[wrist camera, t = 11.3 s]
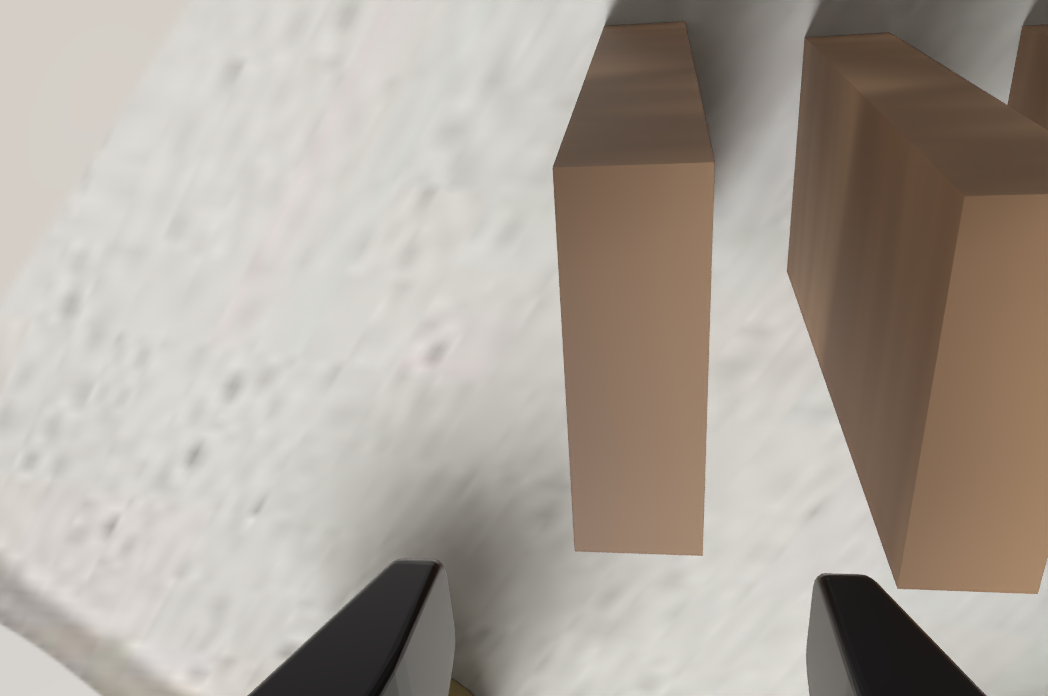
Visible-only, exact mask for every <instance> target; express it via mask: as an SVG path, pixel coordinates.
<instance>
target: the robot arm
mask: <svg viewBox="0 0 1048 696" xmlns="http://www.w3.org/2000/svg"><path fill="white" fill-rule="evenodd" d="M454 654H455V626H454V619H453V613H452V606H451V599H450V592H449V586H448V579H447V573H446V570H445V567H444V565H443V564H442V563H441V562H440V561H438V560H435V559H407V558H403V559H398V560H396V561H394V562H392V563H391V564H390V565H388V566H387V567H386V568H385V569H384V570H383V571H382V572H381V573H380V574H379V575H378V576H377V577H376V578H374V579H373V580H372V581H371V582H370V583H369V584H368V585H367V586H366V587H365V588H364V589H363V590H361V591H360V592H359V593H358V594H357V595H356V596H355V597H354V598H353V599H352V600H351V601H350V602H348V603H347V604H346V605H345V606H344V607H343V608H342V609H341V610H340V611H339V612H338V613H337V614H335V615H334V616H333V617H332V618H331V619H330V620H329V621H328V622H327V623H326V624H325V625H324V626H322V627H321V628H320V629H319V630H318V631H317V632H316V633H315V634H314V635H313V636H312V637H311V638H309V639H308V640H307V641H306V642H305V643H304V644H303V645H302V646H301V647H300V648H299V649H298V650H297V651H295V652H294V653H293V654H292V655H291V656H290V657H289V658H288V659H287V660H286V661H285V662H284V663H282V664H281V665H280V666H279V667H278V668H277V669H276V670H275V671H274V672H273V673H272V674H271V675H269V676H268V677H267V678H266V679H265V680H264V681H263V682H262V683H261V684H260V685H259V686H258V687H256V688H255V689H254V690H253V691H252V692H251V693H250V694H249V695H248V696H448V693H449V687H450V680H451V674H452V668H453V661H454ZM806 664H807V677H808V685H809V694H810V696H986V695H985V694H984V693H983V692H982V691H981V690H980V689H979V688H978V687H977V686H976V685H975V683H974V682H973V681H972V680H971V679H970V678H969V677H968V676H967V675H966V674H965V673H964V672H963V671H962V670H961V669H960V668H959V667H958V666H957V665H956V664H955V663H954V662H953V661H952V660H951V659H950V658H949V657H948V656H947V655H946V654H945V653H944V651H943V650H942V649H941V648H940V647H939V646H938V645H937V644H936V643H935V642H934V641H933V640H932V639H931V638H930V637H929V636H928V635H927V634H926V633H925V632H924V631H923V630H922V629H921V628H920V627H919V626H918V625H917V624H916V623H915V622H914V620H913V619H912V618H911V617H910V616H909V615H908V614H907V613H906V612H905V611H904V610H903V609H902V608H901V607H900V606H899V605H898V604H897V603H896V602H895V601H894V600H893V599H892V598H891V597H890V596H889V595H888V594H887V593H886V592H885V591H884V590H883V588H882V587H881V586H880V585H879V584H878V583H877V582H876V581H874V580H873V579H872V578H870V577H868V576H866V575H859V574H831V573H824V574H821V575H819V576H818V577H817V578H816V580H815V582H814V585H813V593H812V602H811V611H810V620H809V629H808V638H807V650H806Z"/></svg>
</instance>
